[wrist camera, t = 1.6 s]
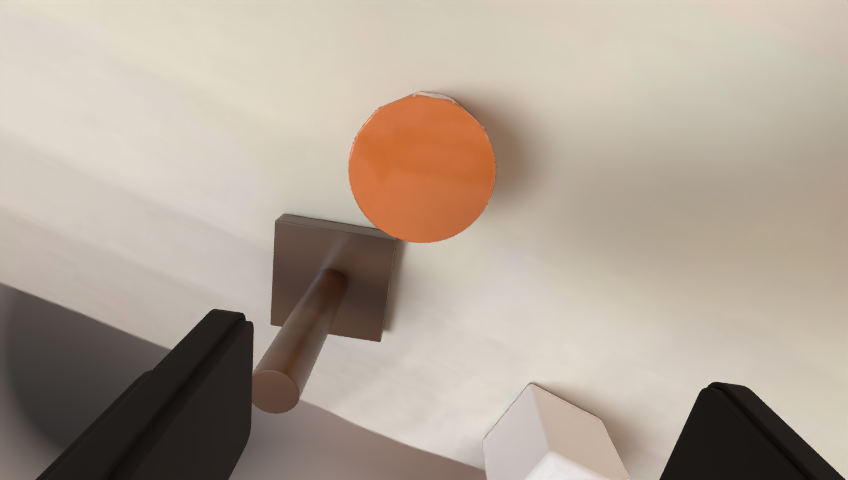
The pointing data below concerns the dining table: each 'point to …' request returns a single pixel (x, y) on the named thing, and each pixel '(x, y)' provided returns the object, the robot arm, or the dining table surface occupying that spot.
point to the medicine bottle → (550, 442)
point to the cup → (422, 168)
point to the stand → (320, 299)
